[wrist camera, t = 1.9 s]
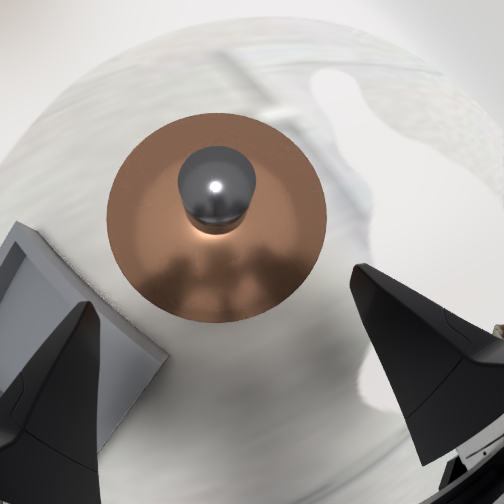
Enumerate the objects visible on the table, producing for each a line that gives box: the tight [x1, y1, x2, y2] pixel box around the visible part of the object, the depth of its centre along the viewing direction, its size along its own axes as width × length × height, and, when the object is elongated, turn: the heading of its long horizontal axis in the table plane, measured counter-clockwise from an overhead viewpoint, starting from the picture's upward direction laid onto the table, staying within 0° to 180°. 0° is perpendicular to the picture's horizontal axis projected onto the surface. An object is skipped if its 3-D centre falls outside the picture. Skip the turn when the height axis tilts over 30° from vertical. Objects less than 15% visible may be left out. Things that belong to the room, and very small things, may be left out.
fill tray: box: [0, 221, 169, 454], centre depth 14 cm, size 14×14×3 cm
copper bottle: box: [107, 113, 327, 323], centre depth 12 cm, size 6×6×14 cm
